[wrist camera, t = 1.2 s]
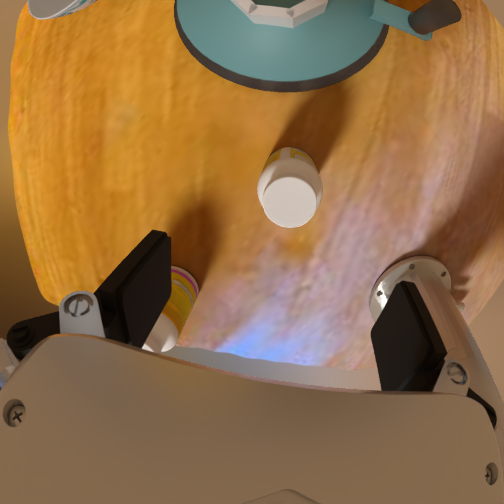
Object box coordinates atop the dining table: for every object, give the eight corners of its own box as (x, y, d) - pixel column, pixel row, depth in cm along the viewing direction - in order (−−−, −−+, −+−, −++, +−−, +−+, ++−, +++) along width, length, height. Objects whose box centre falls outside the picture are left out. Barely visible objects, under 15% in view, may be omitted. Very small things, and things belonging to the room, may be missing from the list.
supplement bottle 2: (268, 197, 30) (257, 238, 21) (261, 149, 27) (246, 169, 19) (318, 194, 29) (328, 234, 20) (313, 144, 26) (324, 162, 18)
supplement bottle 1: (177, 255, 35) (132, 323, 24) (209, 291, 37) (178, 364, 26) (147, 276, 38) (103, 339, 27) (177, 308, 40) (144, 375, 29)
